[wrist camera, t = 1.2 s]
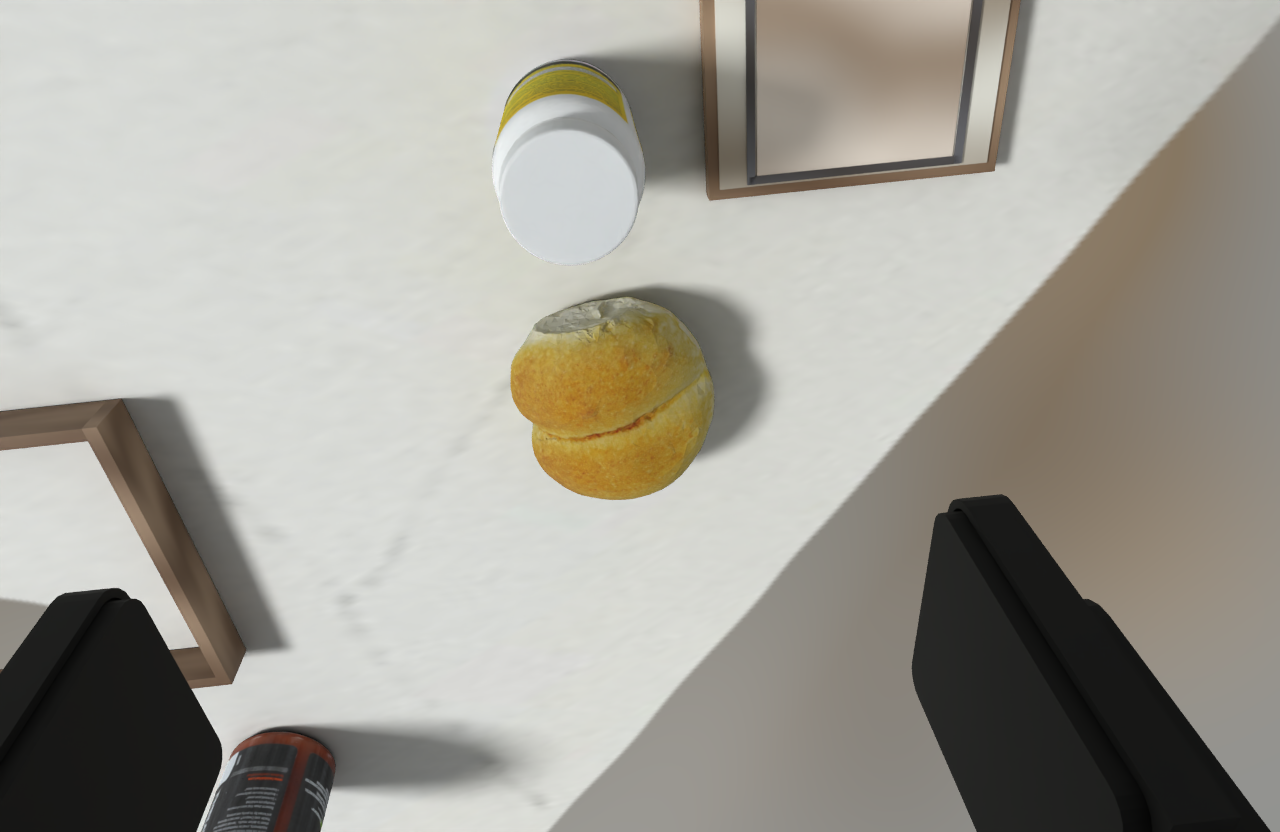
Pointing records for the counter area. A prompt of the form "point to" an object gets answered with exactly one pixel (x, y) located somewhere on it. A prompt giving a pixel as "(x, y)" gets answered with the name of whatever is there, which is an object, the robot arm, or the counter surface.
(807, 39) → the brown double tray
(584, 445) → the bread roll
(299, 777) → the supplement bottle
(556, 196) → the supplement bottle
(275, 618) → the counter surface
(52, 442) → the frame
